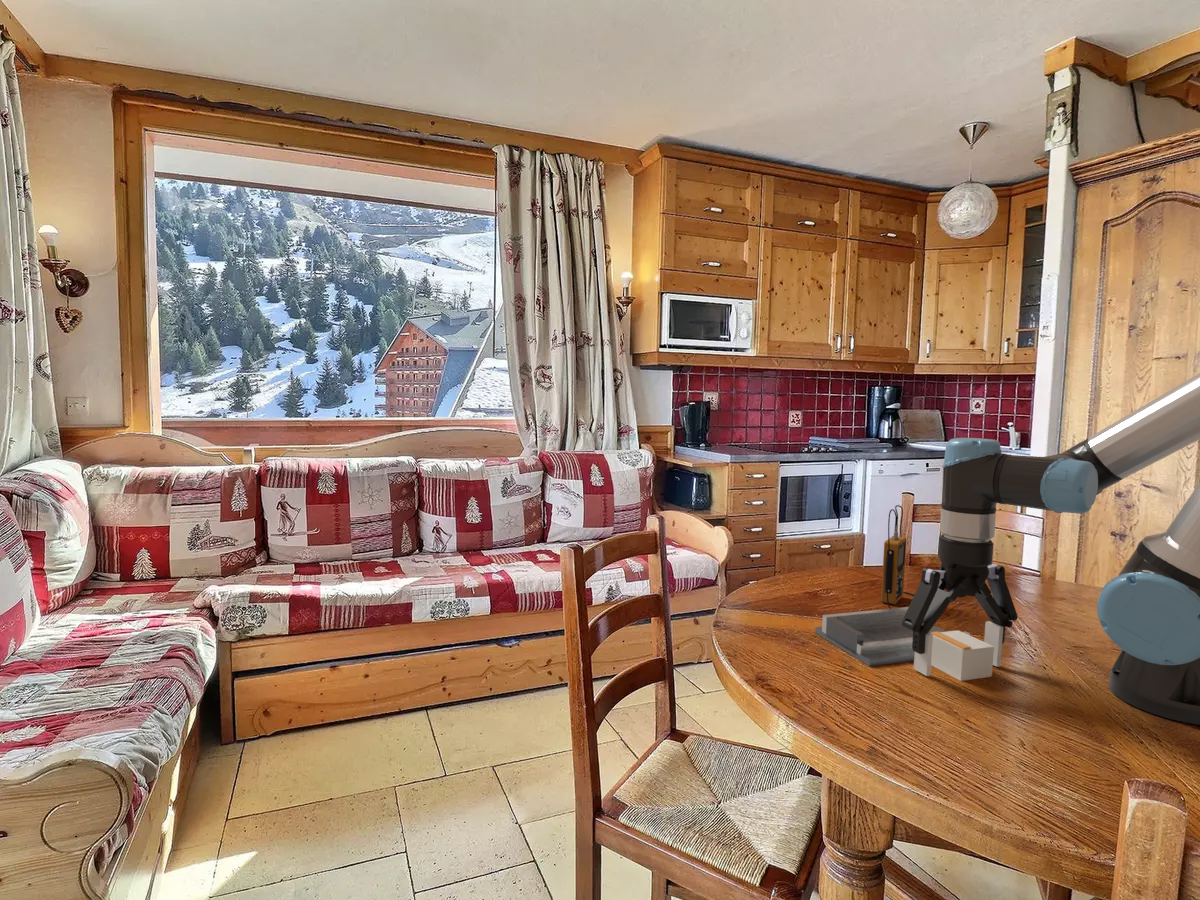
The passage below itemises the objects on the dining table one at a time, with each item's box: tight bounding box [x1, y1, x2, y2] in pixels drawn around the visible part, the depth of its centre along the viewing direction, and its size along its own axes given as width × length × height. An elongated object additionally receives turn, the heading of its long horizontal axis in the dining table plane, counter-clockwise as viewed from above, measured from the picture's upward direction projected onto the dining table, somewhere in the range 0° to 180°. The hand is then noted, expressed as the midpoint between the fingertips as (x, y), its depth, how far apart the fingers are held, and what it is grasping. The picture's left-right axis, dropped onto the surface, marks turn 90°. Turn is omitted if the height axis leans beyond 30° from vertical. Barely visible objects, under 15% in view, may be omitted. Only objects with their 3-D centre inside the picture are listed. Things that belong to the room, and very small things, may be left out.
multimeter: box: [880, 504, 915, 609], centre depth 138 cm, size 15×10×20 cm
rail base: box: [814, 606, 971, 667], centre depth 117 cm, size 15×22×4 cm
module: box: [931, 630, 994, 682], centre depth 106 cm, size 7×6×5 cm
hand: (957, 667), depth 106 cm, fingers open, 13 cm apart
